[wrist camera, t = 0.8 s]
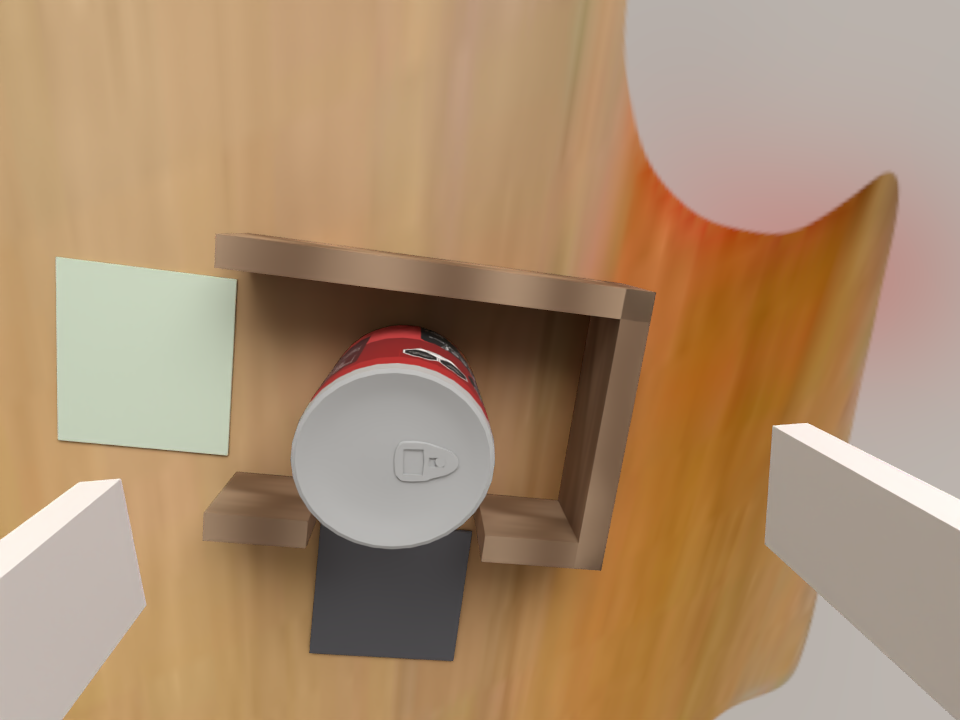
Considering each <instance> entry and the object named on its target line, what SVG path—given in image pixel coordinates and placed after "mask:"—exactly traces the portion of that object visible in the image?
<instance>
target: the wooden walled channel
mask: <svg viewBox="0 0 960 720" xmlns="http://www.w3.org/2000/svg"><path fill="white" fill-rule="evenodd" d="M214 268H222V269H230V270H238V271H246V272H253V273H261V274H269V275H277V276H285V277H293V278H301V279H308V280H316V281H324V282H332V283H340V284H348V285H356V286H363V287H371V288H379V289H387V290H395V291H403V292H411V293H418V294H426V295H434V296H442V297H450V298H458V299H465V300H473V301H481V302H489V303H497V304H505V305H513V306H520V307H528V308H536V309H544V310H552V311H560V312H568V313H575V314H583V315H591V316H590V322H589V327H588V333H587V339H586V344H585V350H584V356H583V361H582V367H581V373H580V378H579V384H578V390H577V395H576V401H575V407H574V412H573V418H572V424H571V429H570V435H569V441H568V446H567V452H566V458H565V463H564V469H563V475H562V480H561V486H560V492H559V497H558V500H548V499H537V498H525V497H514V496H503V495H492V494H486V496H485V498H484V499H483V501H482V502H481V504H480V505H479V507H478V508H477V510H476V511H475V513H474V520H475V526H476V532H477V538H478V544H479V550H480V556H481V562H494V563H507V564H521V565H534V566H547V567H561V568H574V569H587V570H600V571H601V568H602V563H603V558H604V553H605V548H606V543H607V538H608V533H609V528H610V523H611V518H612V512H613V507H614V502H615V497H616V492H617V487H618V482H619V477H620V472H621V467H622V462H623V457H624V452H625V447H626V442H627V437H628V432H629V427H630V422H631V417H632V412H633V406H634V401H635V396H636V391H637V386H638V381H639V376H640V371H641V366H642V361H643V356H644V351H645V346H646V341H647V336H648V331H649V326H650V321H651V316H652V311H653V305H654V300H655V295H656V292H652V291H648V290H645V289H641V288H637V287H633V286H629V285H626V284H621V283H614V282H607V281H599V280H592V279H584V278H577V277H570V276H562V275H555V274H547V273H540V272H532V271H525V270H518V269H510V268H503V267H495V266H488V265H480V264H473V263H466V262H458V261H451V260H443V259H436V258H429V257H421V256H414V255H406V254H399V253H391V252H384V251H377V250H369V249H362V248H354V247H347V246H339V245H332V244H325V243H317V242H310V241H302V240H295V239H288V238H280V237H273V236H265V235H258V234H250V233H233V234H216V243H215V266H214ZM316 520H317V518H316V517H315V516H314V515H313V514H312V513H311V512H310V511H309V510H308V508H307V507H306V505H305V503H304V502H303V500H302V499H301V497H300V496H299V493H298V490H297V488H296V485H295V482H294V479H293V477H289V476H278V475H267V474H255V473H244V472H236V473H235V474H234V476H233V477H232V478H231V479H230V481H229V482H228V483H227V484H226V486H225V487H224V488H223V489H222V491H221V492H220V493H219V494H218V496H217V497H216V498H215V499H214V501H213V502H212V503H211V504H210V506H209V507H208V508H207V509H206V511H205V512H204V521H203V541H215V542H228V543H242V544H255V545H268V546H281V547H295V548H306V546H307V544H308V541H309V538H310V536H311V533H312V531H313V528H314V525H315V523H316Z"/></svg>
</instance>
